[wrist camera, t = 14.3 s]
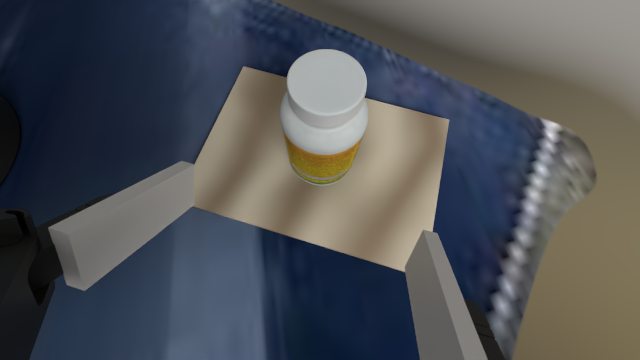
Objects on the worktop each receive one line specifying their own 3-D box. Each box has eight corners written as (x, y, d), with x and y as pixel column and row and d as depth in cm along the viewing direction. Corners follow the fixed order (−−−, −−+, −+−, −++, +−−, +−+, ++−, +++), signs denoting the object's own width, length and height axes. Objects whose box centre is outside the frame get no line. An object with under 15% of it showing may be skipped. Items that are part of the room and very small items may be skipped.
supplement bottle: (284, 136, 22) (263, 45, 13) (343, 124, 23) (363, 29, 13) (296, 194, 20) (282, 136, 11) (360, 180, 21) (395, 114, 12)
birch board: (180, 202, 21) (176, 200, 20) (245, 70, 25) (243, 66, 24) (422, 277, 19) (425, 277, 19) (445, 123, 24) (449, 119, 23)
